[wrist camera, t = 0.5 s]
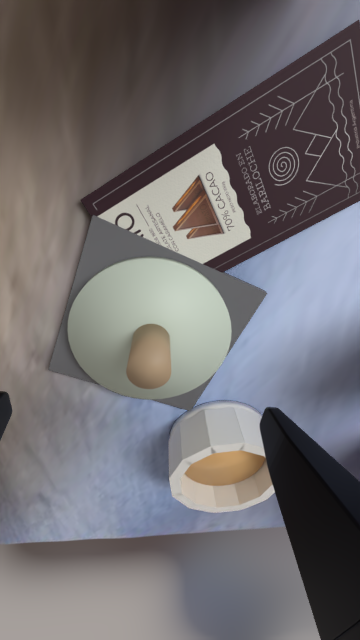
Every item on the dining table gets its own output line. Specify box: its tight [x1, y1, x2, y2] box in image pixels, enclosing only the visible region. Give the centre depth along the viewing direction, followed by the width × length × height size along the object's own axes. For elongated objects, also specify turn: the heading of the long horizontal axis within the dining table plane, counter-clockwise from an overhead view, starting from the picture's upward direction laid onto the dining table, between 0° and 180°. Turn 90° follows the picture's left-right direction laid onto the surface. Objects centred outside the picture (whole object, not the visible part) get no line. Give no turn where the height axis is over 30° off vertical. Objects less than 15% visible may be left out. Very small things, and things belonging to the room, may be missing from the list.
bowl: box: [168, 400, 275, 513], centre depth 27 cm, size 11×11×5 cm
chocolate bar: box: [81, 20, 360, 273], centre depth 17 cm, size 9×1×18 cm
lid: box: [67, 256, 232, 399], centre depth 19 cm, size 13×13×5 cm
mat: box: [49, 215, 267, 411], centre depth 22 cm, size 14×14×1 cm
